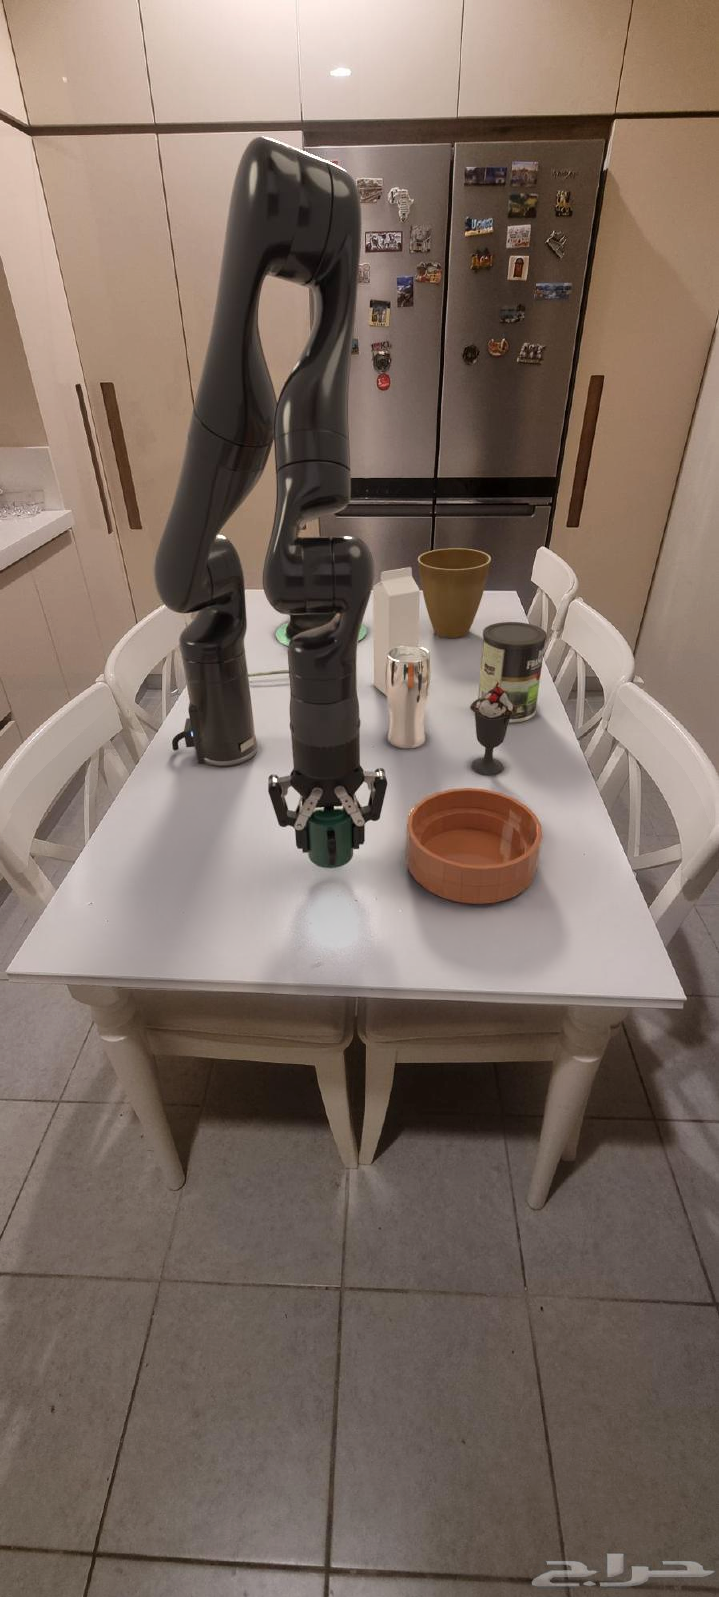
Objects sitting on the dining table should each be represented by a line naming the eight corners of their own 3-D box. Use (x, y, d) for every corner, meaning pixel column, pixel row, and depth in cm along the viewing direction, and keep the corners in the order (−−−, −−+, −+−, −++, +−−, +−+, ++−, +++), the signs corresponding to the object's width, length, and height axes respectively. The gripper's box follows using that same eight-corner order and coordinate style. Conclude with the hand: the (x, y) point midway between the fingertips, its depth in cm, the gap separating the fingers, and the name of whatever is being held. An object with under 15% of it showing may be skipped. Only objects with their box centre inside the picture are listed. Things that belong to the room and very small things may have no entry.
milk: (373, 686, 131) (371, 567, 118) (401, 679, 133) (402, 562, 121) (389, 698, 126) (388, 576, 114) (417, 691, 128) (420, 570, 116)
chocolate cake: (265, 647, 145) (275, 615, 161) (345, 685, 149) (346, 651, 166) (296, 582, 137) (303, 556, 154) (379, 625, 142) (376, 596, 159)
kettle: (356, 876, 83) (355, 820, 78) (309, 879, 82) (305, 823, 78) (349, 825, 91) (348, 772, 86) (306, 828, 90) (303, 774, 86)
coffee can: (544, 704, 123) (555, 627, 115) (523, 728, 116) (533, 649, 108) (490, 691, 128) (497, 617, 120) (466, 714, 121) (472, 636, 113)
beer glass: (424, 751, 111) (428, 664, 102) (381, 748, 112) (381, 661, 103) (430, 730, 116) (433, 645, 108) (388, 727, 118) (389, 643, 109)
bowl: (418, 913, 81) (420, 874, 77) (397, 829, 94) (398, 792, 91) (553, 901, 82) (561, 862, 79) (514, 820, 95) (519, 783, 92)
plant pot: (447, 614, 161) (450, 543, 152) (498, 631, 152) (505, 557, 143) (401, 632, 153) (403, 557, 144) (453, 651, 144) (458, 573, 134)
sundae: (482, 783, 103) (492, 690, 95) (457, 762, 108) (463, 672, 99) (518, 771, 106) (530, 680, 97) (492, 751, 110) (501, 663, 102)
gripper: (386, 707, 79) (384, 824, 89) (259, 713, 78) (271, 832, 88) (395, 740, 73) (392, 862, 83) (258, 748, 72) (271, 871, 82)
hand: (330, 846), depth 86 cm, fingers closed on kettle, 5 cm apart
